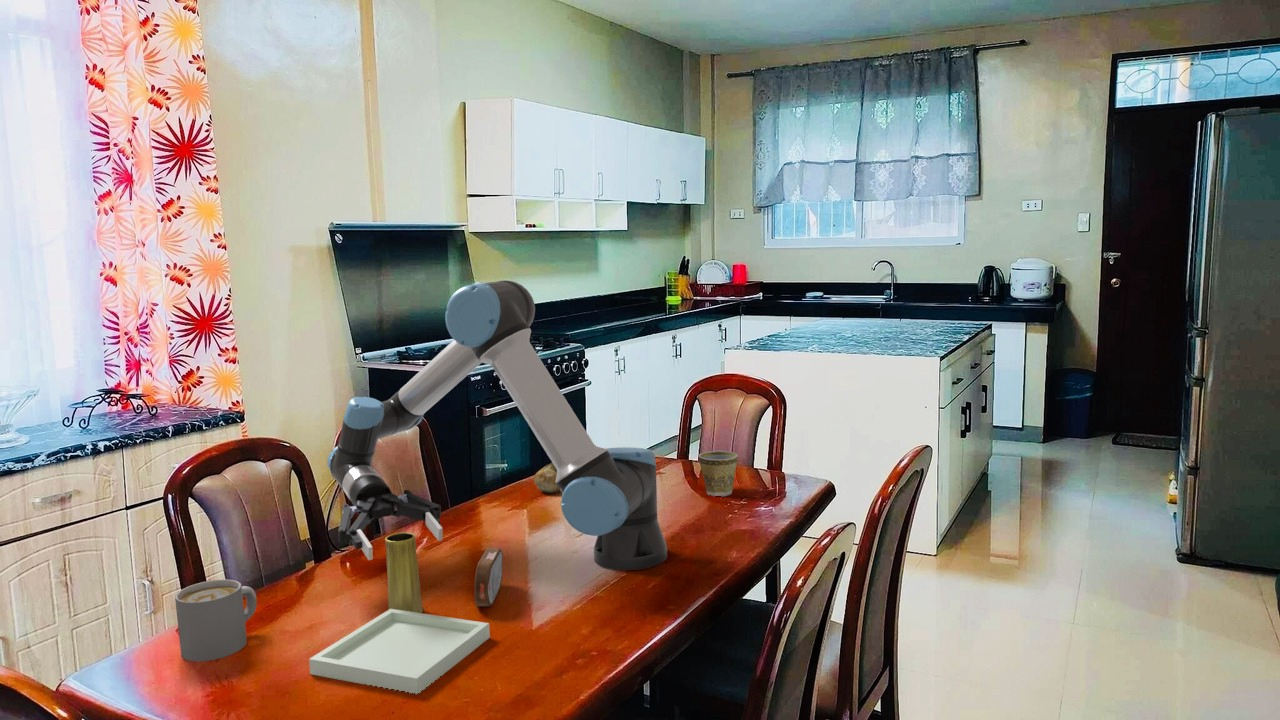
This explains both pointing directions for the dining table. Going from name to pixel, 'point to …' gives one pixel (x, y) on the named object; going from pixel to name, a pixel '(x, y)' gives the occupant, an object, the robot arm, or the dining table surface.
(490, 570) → the tin
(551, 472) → the onion
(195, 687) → the dining table surface
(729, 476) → the ceramic cup
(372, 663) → the tray
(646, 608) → the dining table surface
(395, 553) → the vase
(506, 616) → the dining table surface
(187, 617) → the coffee mug
